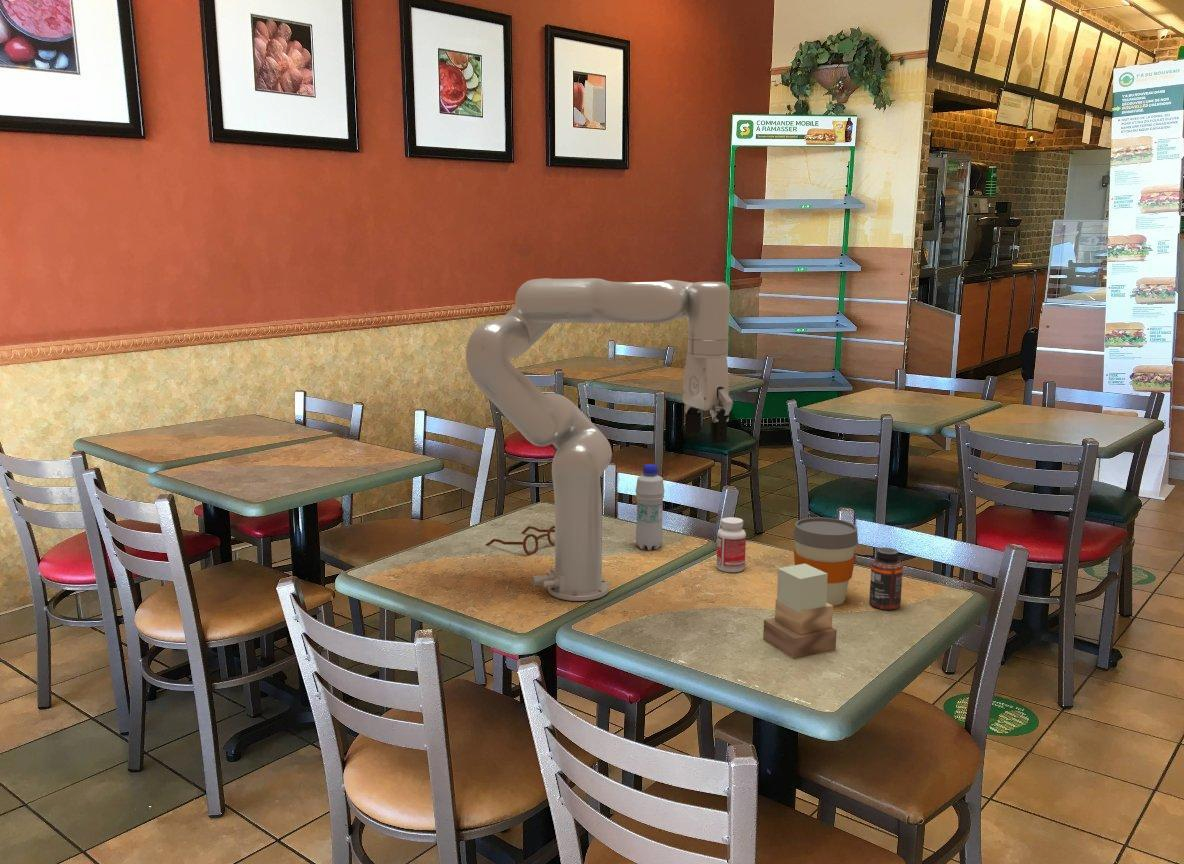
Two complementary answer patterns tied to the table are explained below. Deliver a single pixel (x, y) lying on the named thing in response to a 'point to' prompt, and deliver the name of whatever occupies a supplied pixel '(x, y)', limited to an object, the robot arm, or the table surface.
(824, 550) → the reusable coffee cup
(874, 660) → the table surface
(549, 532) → the glasses
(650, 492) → the bottle
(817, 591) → the sage cube
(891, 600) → the supplement bottle
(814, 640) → the walnut block
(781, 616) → the oak block
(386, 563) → the table surface
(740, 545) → the pill bottle
